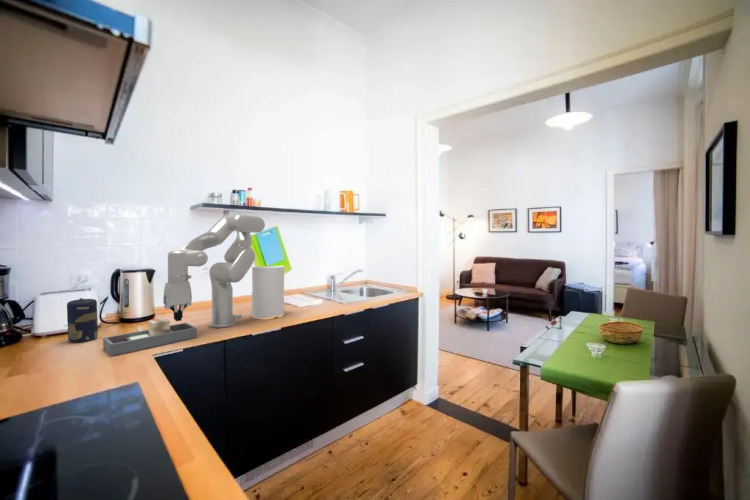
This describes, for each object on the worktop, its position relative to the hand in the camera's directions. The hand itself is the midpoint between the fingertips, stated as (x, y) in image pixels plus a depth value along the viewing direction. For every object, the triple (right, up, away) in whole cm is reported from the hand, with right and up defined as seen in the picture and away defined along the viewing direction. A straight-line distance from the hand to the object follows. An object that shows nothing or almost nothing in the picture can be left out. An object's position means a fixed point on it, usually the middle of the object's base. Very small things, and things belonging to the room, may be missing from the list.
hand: (178, 320), depth 143 cm
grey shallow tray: (-6, -8, -7) cm, 12 cm away
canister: (-38, -8, -4) cm, 39 cm away
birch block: (-5, -5, -5) cm, 9 cm away
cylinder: (+26, -6, +41) cm, 49 cm away
